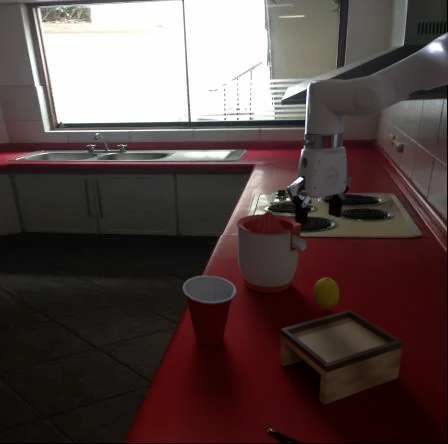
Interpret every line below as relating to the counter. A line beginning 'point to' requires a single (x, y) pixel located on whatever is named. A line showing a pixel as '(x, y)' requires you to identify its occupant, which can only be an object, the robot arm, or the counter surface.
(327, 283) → the lemon
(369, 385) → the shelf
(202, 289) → the plastic cup
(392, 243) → the counter surface
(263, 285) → the citrus juicer
